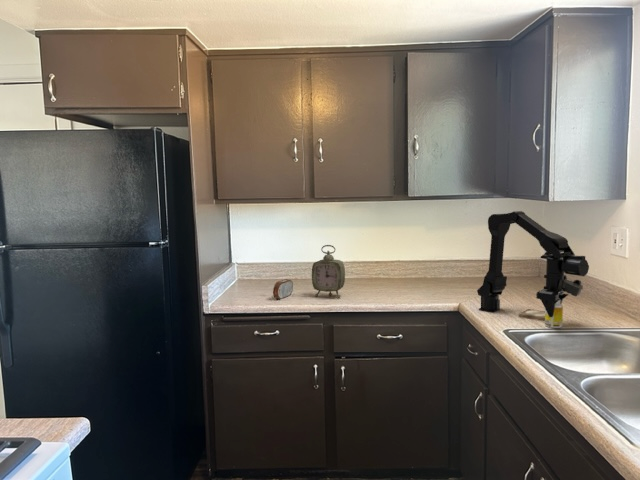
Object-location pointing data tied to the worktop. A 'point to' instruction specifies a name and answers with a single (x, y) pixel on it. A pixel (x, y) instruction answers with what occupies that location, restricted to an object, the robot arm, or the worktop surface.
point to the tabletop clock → (328, 274)
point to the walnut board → (533, 314)
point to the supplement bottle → (555, 316)
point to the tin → (282, 289)
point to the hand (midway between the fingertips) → (553, 315)
